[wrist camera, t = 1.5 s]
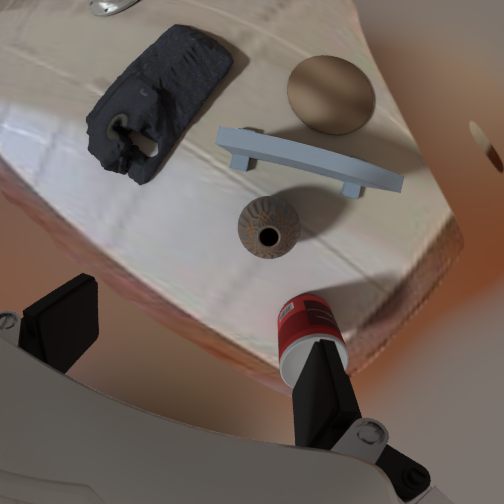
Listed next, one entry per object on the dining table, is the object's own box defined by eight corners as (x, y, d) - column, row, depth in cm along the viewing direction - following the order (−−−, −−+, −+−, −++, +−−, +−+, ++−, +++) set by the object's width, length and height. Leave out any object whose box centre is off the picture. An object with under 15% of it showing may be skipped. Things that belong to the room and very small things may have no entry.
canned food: (278, 342, 39) (279, 394, 28) (276, 293, 37) (278, 339, 26) (329, 339, 38) (345, 388, 28) (332, 290, 36) (353, 333, 26)
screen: (239, 129, 31) (224, 106, 20) (364, 161, 31) (408, 157, 20) (230, 168, 33) (210, 164, 21) (355, 198, 33) (395, 212, 21)
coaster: (296, 48, 28) (296, 46, 27) (375, 72, 28) (377, 71, 27) (279, 121, 31) (279, 120, 30) (363, 145, 31) (365, 145, 30)
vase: (302, 201, 33) (313, 210, 25) (289, 253, 35) (295, 279, 27) (247, 188, 33) (240, 193, 25) (236, 241, 35) (226, 263, 27)
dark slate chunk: (255, 73, 30) (252, 59, 25) (140, 194, 35) (123, 197, 30) (178, 19, 27) (168, 4, 23) (80, 130, 32) (60, 127, 28)
